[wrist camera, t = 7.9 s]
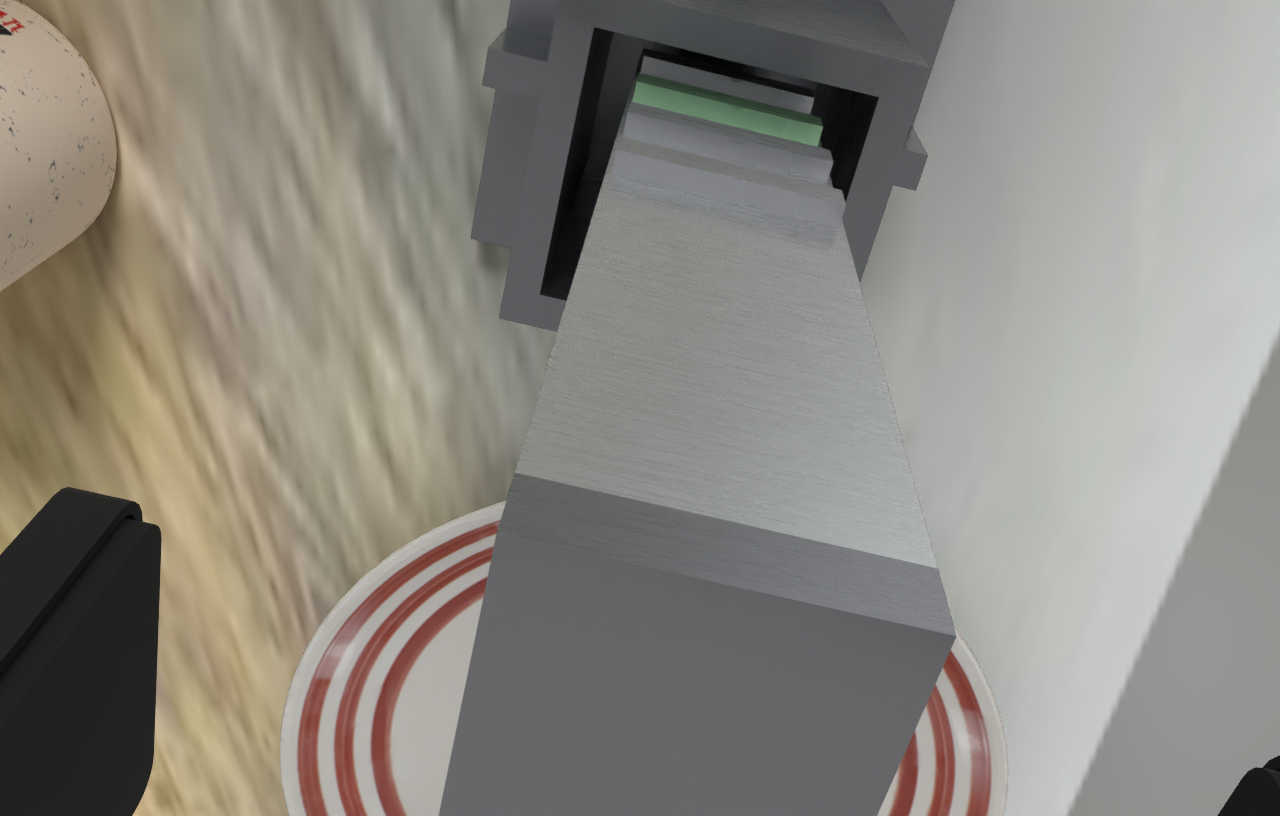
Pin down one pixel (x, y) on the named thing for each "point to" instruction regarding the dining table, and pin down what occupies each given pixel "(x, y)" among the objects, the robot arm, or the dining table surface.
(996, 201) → the dining table surface
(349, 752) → the dinner plate
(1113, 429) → the dining table surface
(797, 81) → the stand base
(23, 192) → the teacup with lid
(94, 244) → the dining table surface
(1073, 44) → the dining table surface
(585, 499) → the column
